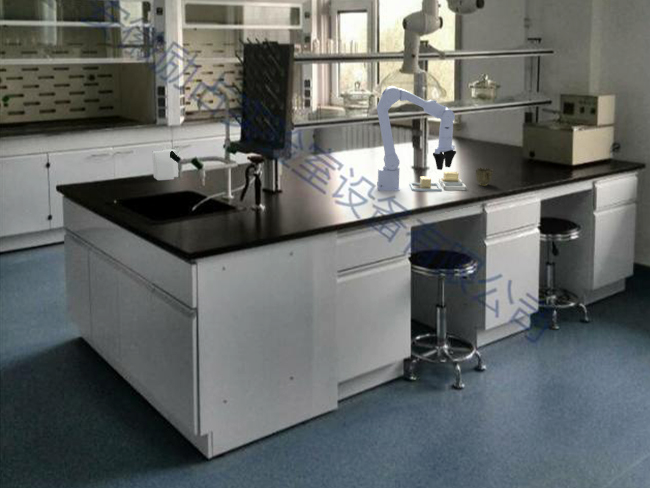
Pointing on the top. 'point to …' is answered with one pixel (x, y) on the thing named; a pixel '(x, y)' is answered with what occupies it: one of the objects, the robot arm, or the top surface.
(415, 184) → the tote
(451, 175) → the billet
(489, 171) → the cup
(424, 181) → the billet
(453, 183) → the grey rectangular tray
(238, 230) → the top surface
